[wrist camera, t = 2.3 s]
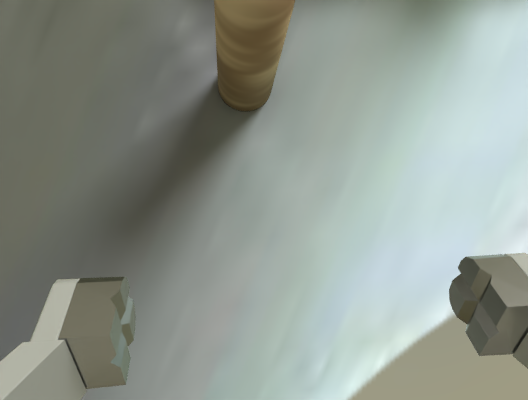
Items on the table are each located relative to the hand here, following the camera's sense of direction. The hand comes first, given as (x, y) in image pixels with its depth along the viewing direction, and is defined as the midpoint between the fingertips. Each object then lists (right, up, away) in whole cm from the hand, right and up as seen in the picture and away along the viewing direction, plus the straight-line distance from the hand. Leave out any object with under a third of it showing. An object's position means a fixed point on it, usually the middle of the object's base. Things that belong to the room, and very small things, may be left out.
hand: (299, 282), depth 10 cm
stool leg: (-2, +10, +18) cm, 21 cm away
